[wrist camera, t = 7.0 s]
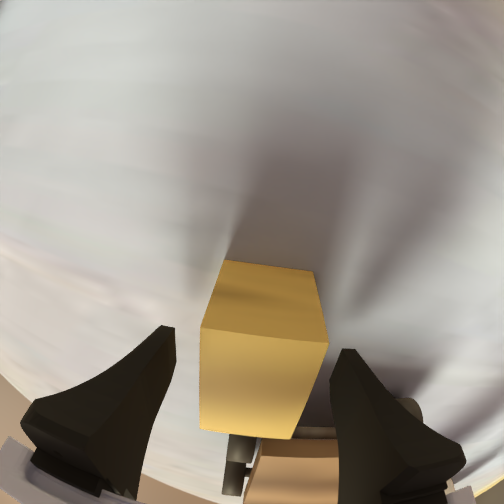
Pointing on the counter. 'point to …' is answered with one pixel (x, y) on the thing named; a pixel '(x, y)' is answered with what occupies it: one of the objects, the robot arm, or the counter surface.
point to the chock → (259, 350)
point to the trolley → (289, 466)
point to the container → (449, 487)
